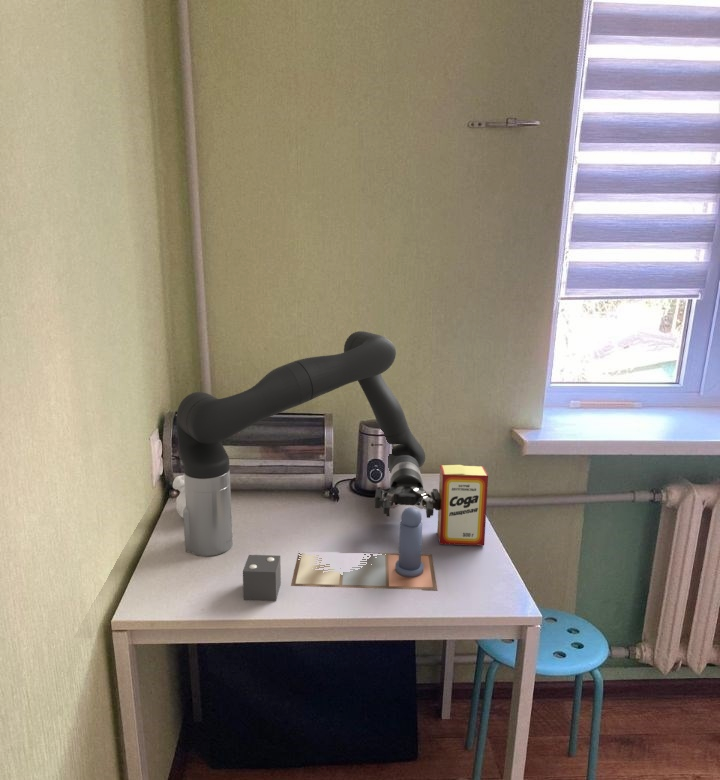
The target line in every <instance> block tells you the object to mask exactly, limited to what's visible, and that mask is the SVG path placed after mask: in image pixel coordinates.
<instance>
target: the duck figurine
mask: <svg viewBox="0 0 720 780" xmlns="http://www.w3.org/2000/svg"><path fill="white" fill-rule="evenodd" d="M172 488H173V489H174V490H177V491H179V495H178V496H177V497H176V500H175V501H176V507H175V508H176V512H177V513H178V515H179V516H180V517H181V518H182V519H183V509H184V508H185V506H186V498H185V481H184V474H182V475H178V476H176V477H175V478H174V480H173V482H172Z"/></svg>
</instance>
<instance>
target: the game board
mask: <svg viewBox="0 0 720 780" xmlns="http://www.w3.org/2000/svg"><path fill="white" fill-rule="evenodd" d="M377 553H378V554H380V553H382V555H377V556H373V554H370V555H371V557H370V558H369V559H367V561H360V562H367V564H366V563H360V564H366V565H358V566H363V567H362V568H361V567H352V568H360V569H358V570H355V569H350V570H353V571H350V572H343V575H341V574H340V572H334V571H328V570H335V569H328V570H324V569H323V570H315V569H319V568H324V567H330V566H325V565H320V564H319V565H313V564H317V563H313V562H317V561H314V560H318V559H314V558H318V557H315V556H307V554H305V553H302V554H300V553H297V558H296V562H295V567H294V570H293V574H292V578H291V579H292V580H291V582H290V587H313V588H315V587H317V588H319V587H320V588H347V589H348V588H350V589H351V588H352V589H355V588H356V589H362V588H363V589H383V590H384V589H388V590H389V589H391V590H418V591H420V590H421V591H438V585H437V580H436V579H437V578H436V572H435V566H434V560H433V554H431V553H421V562H422V563H423V565H424V567H423V573H422V574H421V575H420V576H418V577H413V578H408V577H403V576H401V575H399V574H397V573H396V571H395V564H396V562H397V561H398V560H399V552H397V553H396V552H393V553H392V552H377ZM298 554H300V555H302V556H299V555H298ZM385 554H386V555H385ZM311 555H315V554H311ZM364 555H366V554H364ZM316 556H319V555H316ZM299 557H301V558H299ZM311 557H313V558H311ZM367 557H369V556H367ZM375 557H377V558H375ZM363 558H364V557H363ZM298 559H300V560H298ZM310 559H312V560H310ZM319 559H322V558H319ZM362 560H366V559H362ZM310 561H311V562H310ZM318 561H322V560H318ZM309 563H312V564H309ZM319 563H321V562H319ZM371 564H372V565H371ZM310 565H311V566H310ZM326 565H330V564H326ZM320 566H324V567H320ZM316 567H317V568H316ZM312 568H313V569H312ZM340 569H341V568H340ZM323 571H328V572H324V573H323Z"/></svg>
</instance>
